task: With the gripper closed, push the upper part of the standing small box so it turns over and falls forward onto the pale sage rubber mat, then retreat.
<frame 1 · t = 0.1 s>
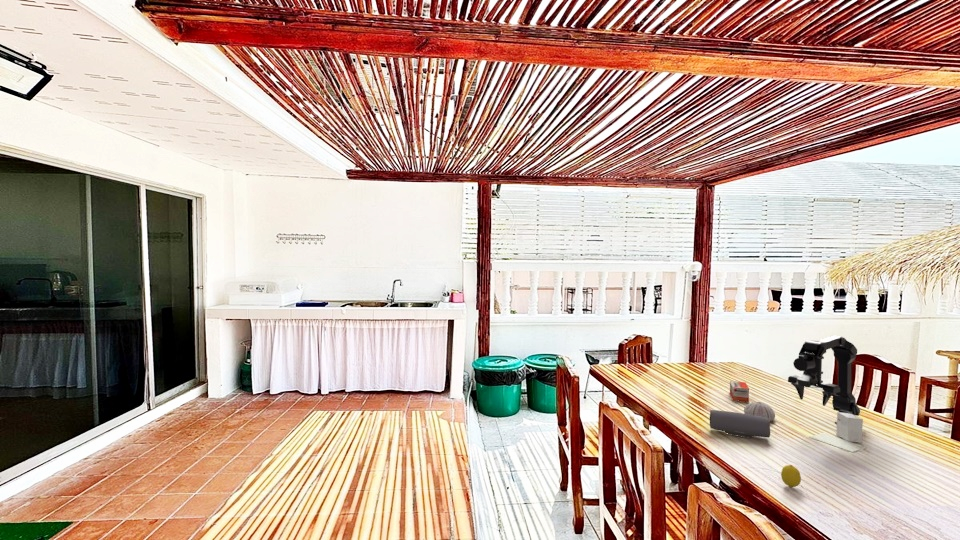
hand: (812, 402, 192), 15 cm above the table, fingers open, 9 cm apart
mat: (837, 442, 183), on the table
medicine box: (739, 398, 243), on the table
lemon: (790, 488, 146), on the table
bluetooth speaker: (738, 435, 190), on the table
small box: (848, 439, 187), on the table, touching mat
sea urchin shell: (759, 418, 212), on the table
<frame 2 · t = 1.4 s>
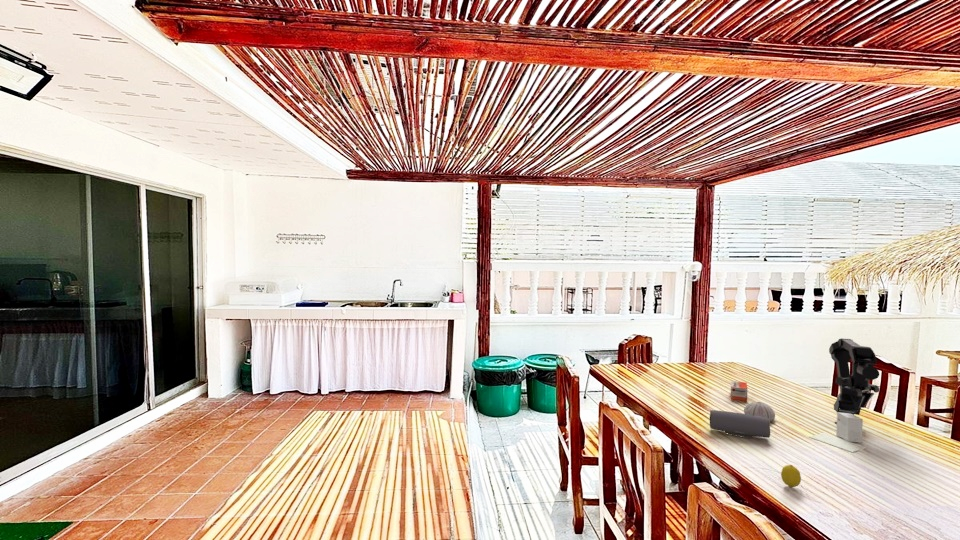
hand: (859, 408, 190), 13 cm above the table, fingers open, 4 cm apart
nothing on the table moved.
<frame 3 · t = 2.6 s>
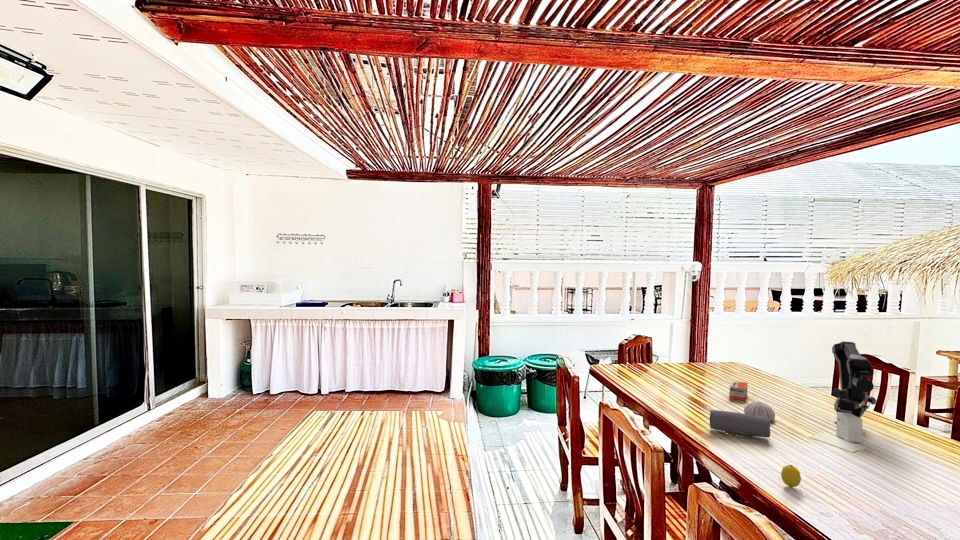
hand: (856, 420, 189), 8 cm above the table, fingers closed
small box: (848, 439, 187), on the table, touching gripper, mat
everything else where it was.
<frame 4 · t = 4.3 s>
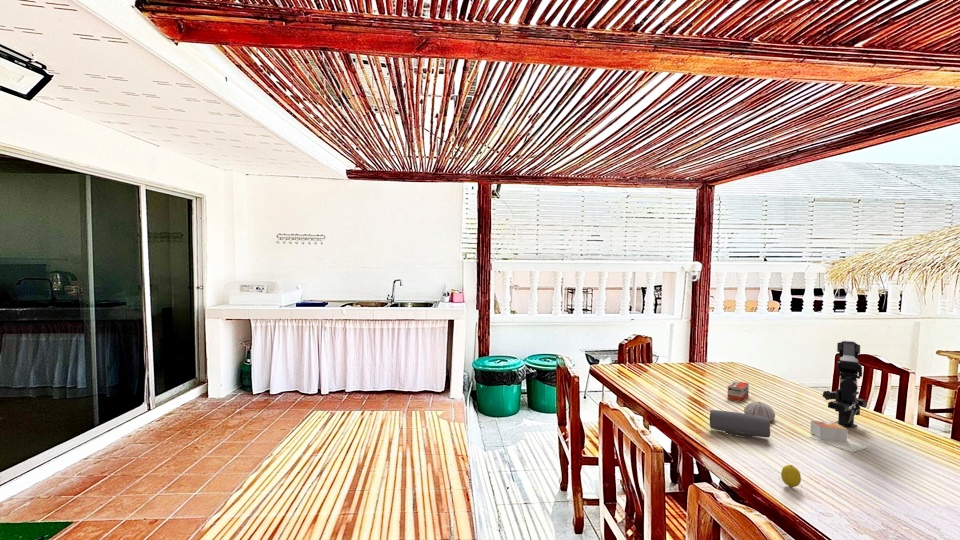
hand: (846, 423, 186), 8 cm above the table, fingers closed
small box: (842, 432, 187), point 3 cm above the table, touching mat
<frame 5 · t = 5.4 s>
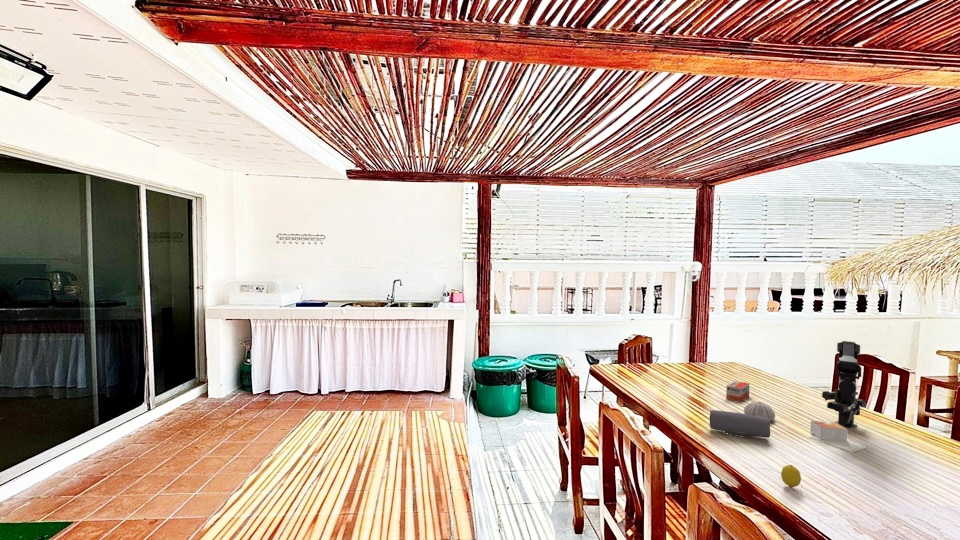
hand: (846, 423, 186), 7 cm above the table, fingers closed
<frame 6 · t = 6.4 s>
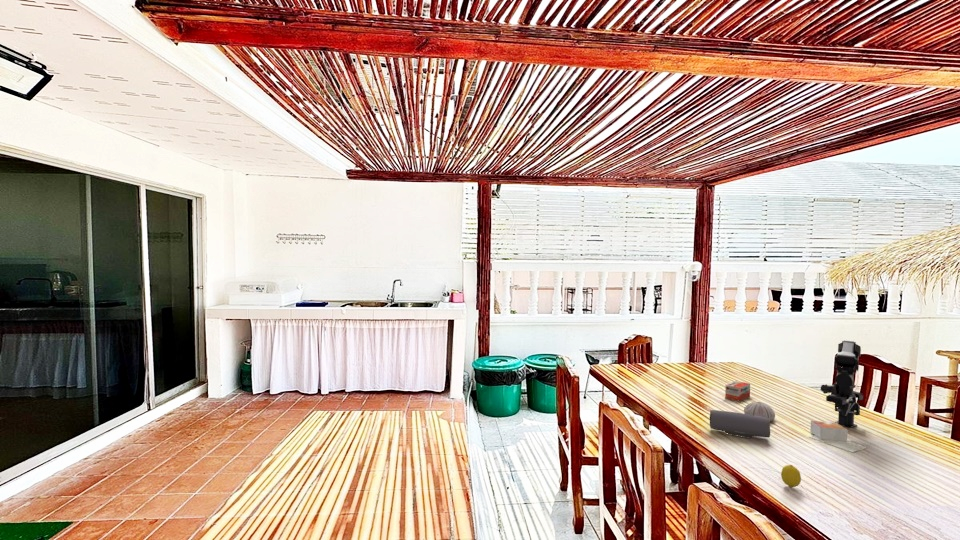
hand: (844, 415, 192), 9 cm above the table, fingers closed
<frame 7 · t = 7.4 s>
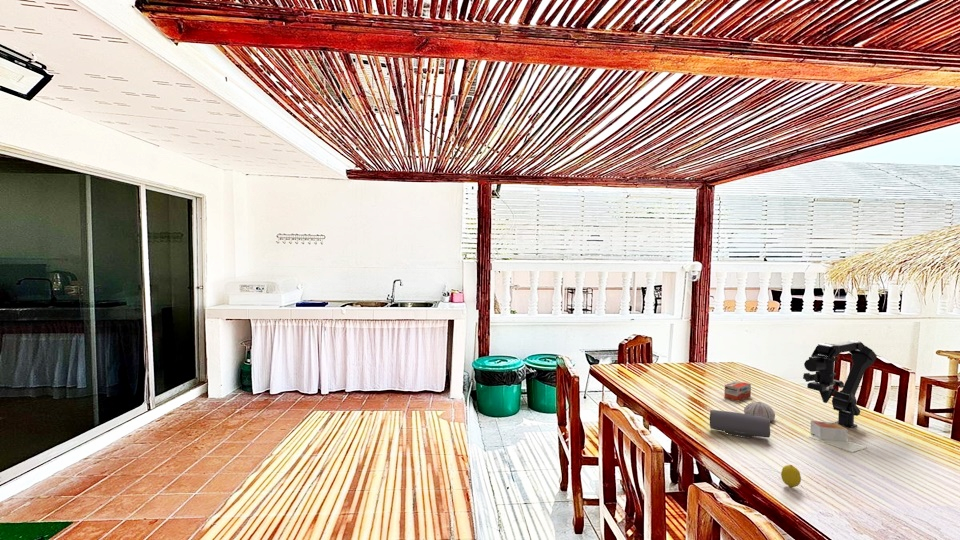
hand: (825, 402, 200), 12 cm above the table, fingers closed
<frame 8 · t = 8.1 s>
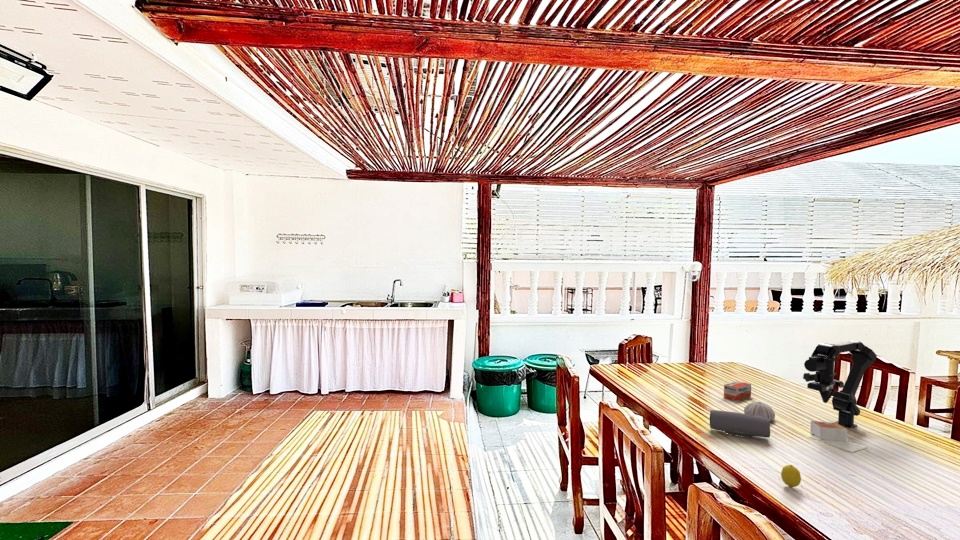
hand: (825, 402, 200), 12 cm above the table, fingers closed
at the end: small box tilted 90°; small box inside the target area on the mat (5.1 cm from its centre), point 3.0 cm above the mat's base; the gripper is holding nothing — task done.
